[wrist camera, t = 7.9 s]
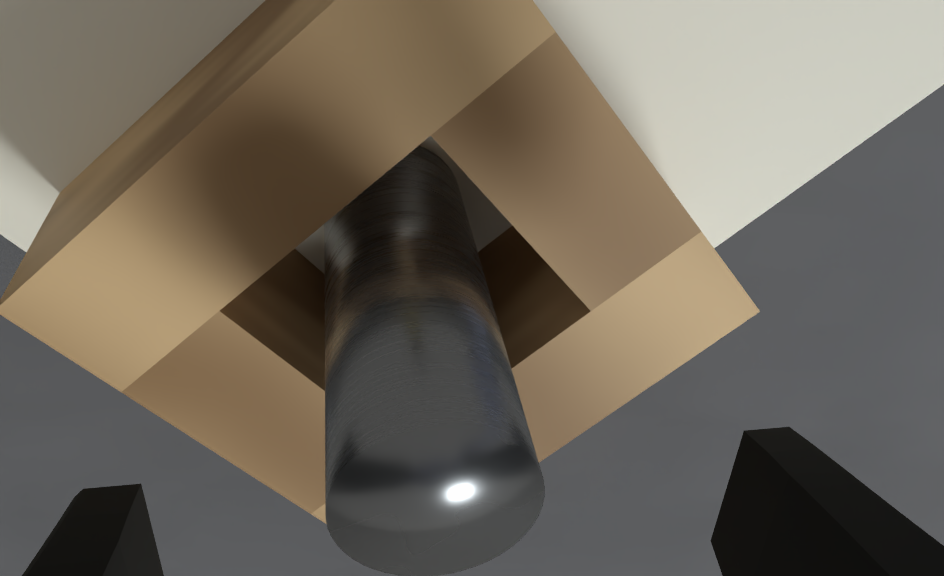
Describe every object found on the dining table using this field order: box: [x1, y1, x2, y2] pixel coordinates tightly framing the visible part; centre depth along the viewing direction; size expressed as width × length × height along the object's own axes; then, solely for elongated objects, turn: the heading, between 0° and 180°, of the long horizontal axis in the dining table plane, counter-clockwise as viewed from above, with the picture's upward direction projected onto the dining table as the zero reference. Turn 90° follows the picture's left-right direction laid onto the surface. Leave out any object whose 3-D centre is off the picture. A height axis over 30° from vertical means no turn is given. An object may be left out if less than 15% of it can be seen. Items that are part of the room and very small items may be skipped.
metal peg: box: [324, 146, 545, 576], centre depth 14 cm, size 3×3×8 cm
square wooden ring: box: [0, 0, 760, 524], centre depth 15 cm, size 9×9×4 cm
